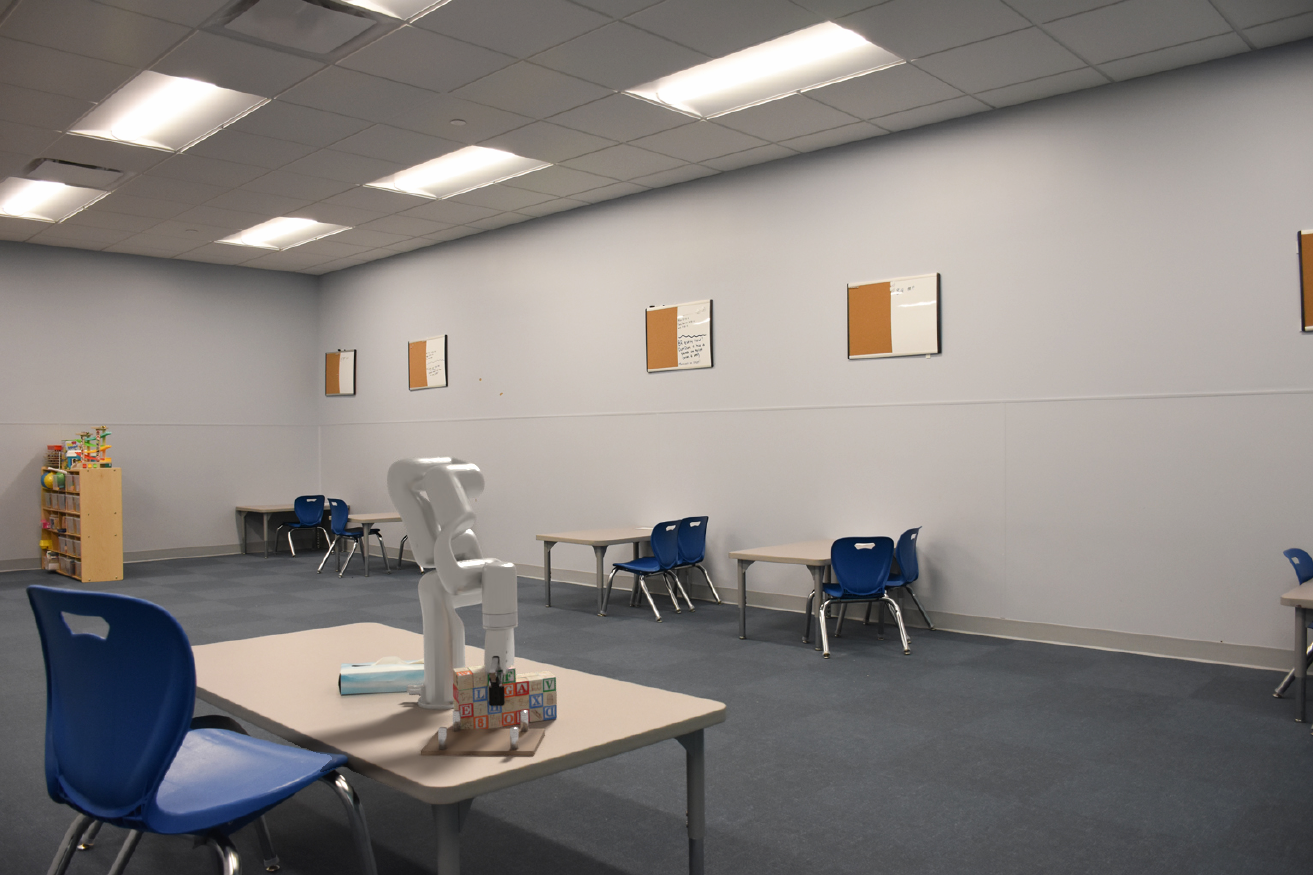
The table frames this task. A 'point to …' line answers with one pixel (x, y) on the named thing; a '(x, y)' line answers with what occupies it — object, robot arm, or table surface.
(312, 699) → the table surface
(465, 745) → the pin board
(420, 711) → the table surface
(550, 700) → the stack of blocks
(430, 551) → the robot arm
